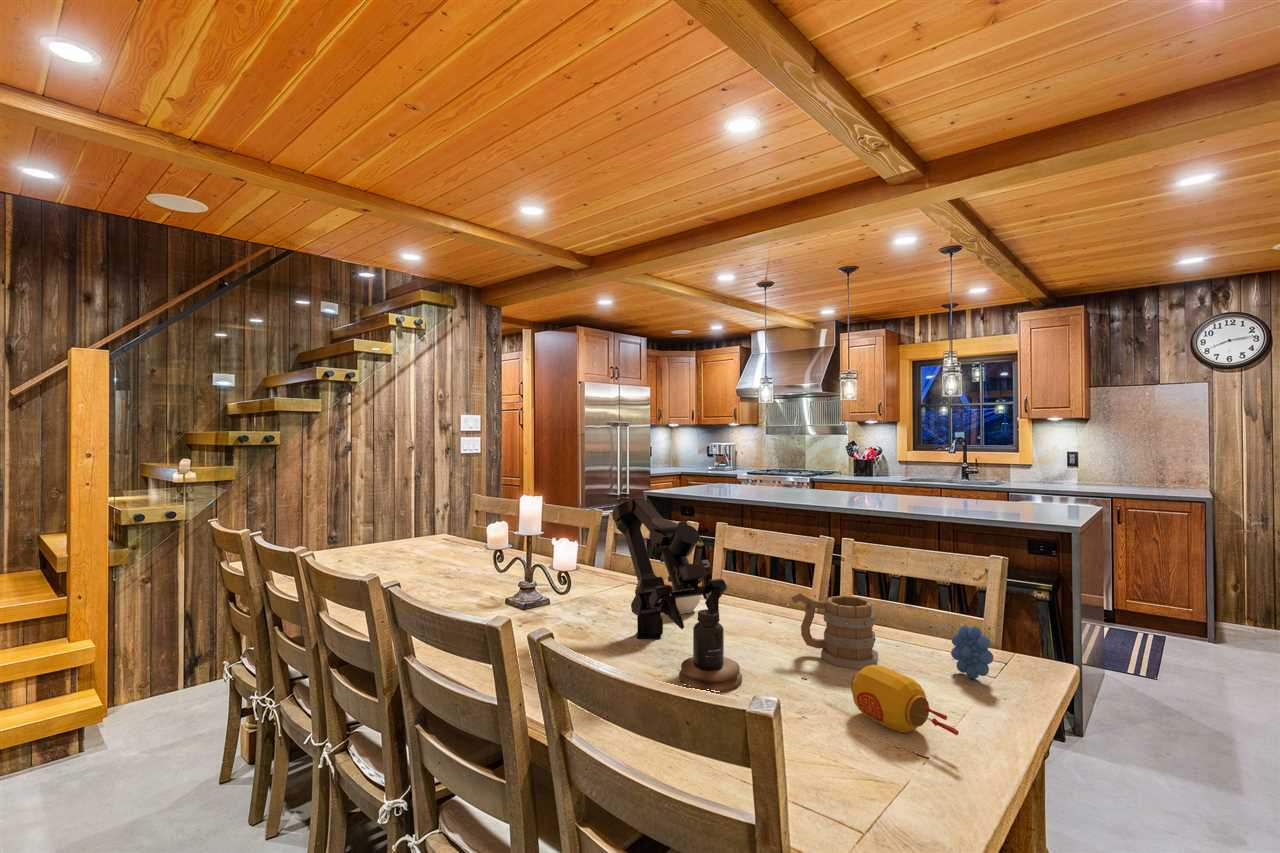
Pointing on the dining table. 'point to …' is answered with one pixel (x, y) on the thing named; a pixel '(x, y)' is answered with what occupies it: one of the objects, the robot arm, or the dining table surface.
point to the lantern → (892, 699)
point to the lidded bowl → (685, 600)
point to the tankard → (842, 630)
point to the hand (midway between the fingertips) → (700, 625)
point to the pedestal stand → (711, 676)
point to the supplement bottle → (708, 641)
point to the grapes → (971, 651)
